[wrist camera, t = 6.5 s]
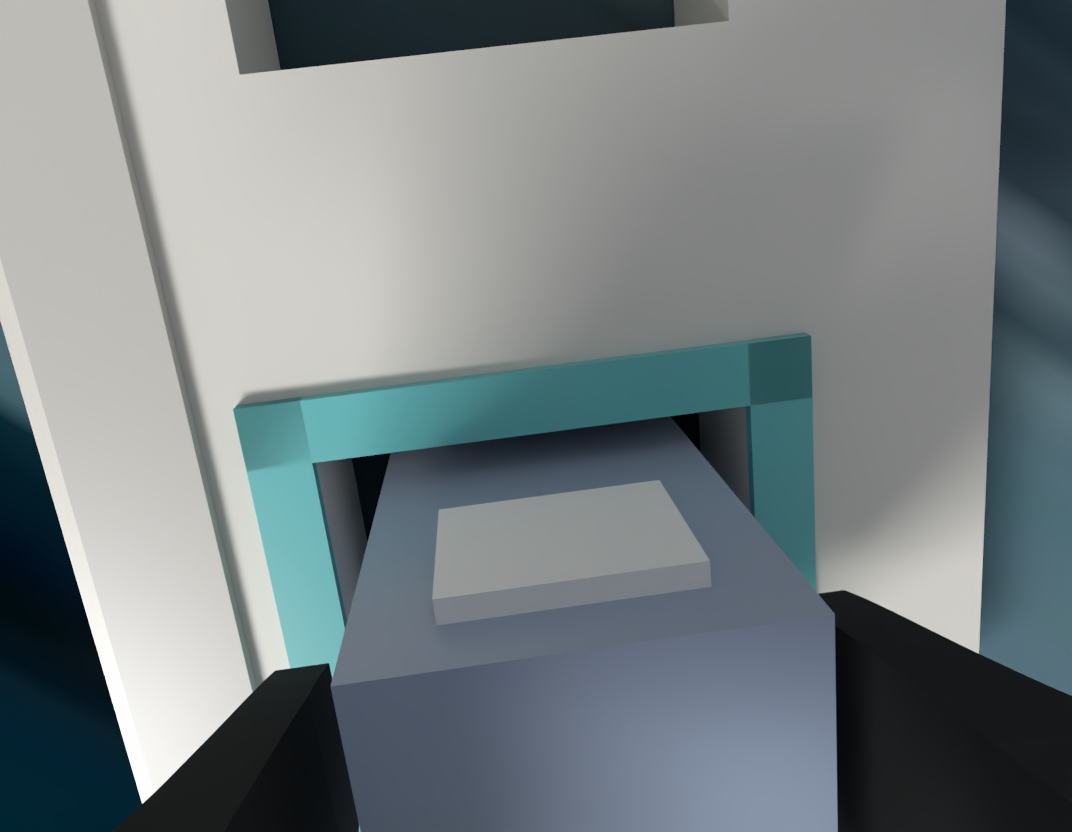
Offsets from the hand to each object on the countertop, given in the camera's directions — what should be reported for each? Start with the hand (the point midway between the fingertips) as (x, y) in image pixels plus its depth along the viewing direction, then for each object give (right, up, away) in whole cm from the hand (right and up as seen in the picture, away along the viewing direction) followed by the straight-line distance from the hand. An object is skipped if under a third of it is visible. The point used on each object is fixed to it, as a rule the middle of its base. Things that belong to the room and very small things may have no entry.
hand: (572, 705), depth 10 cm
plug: (0, +2, +4) cm, 5 cm away
